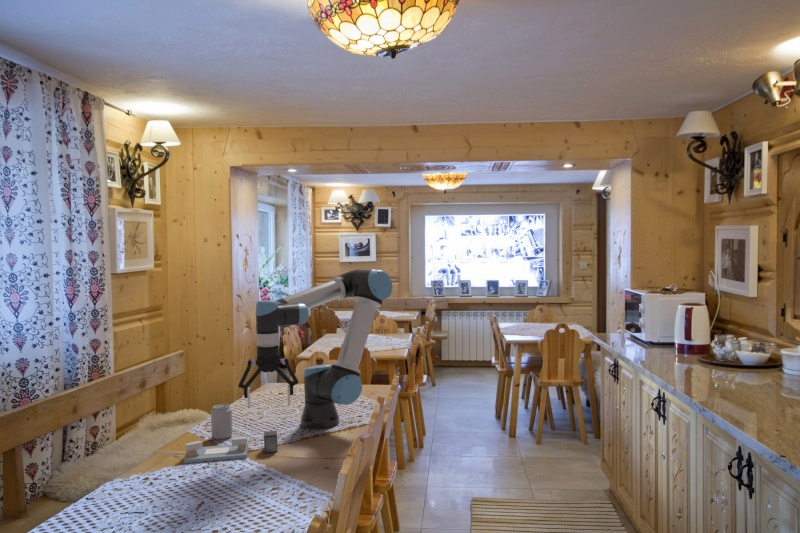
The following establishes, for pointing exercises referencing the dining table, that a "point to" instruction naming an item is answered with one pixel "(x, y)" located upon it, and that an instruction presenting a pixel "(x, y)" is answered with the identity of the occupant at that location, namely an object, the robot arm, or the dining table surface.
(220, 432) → the can
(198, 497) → the dining table surface
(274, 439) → the stepped grey block
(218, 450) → the rig
